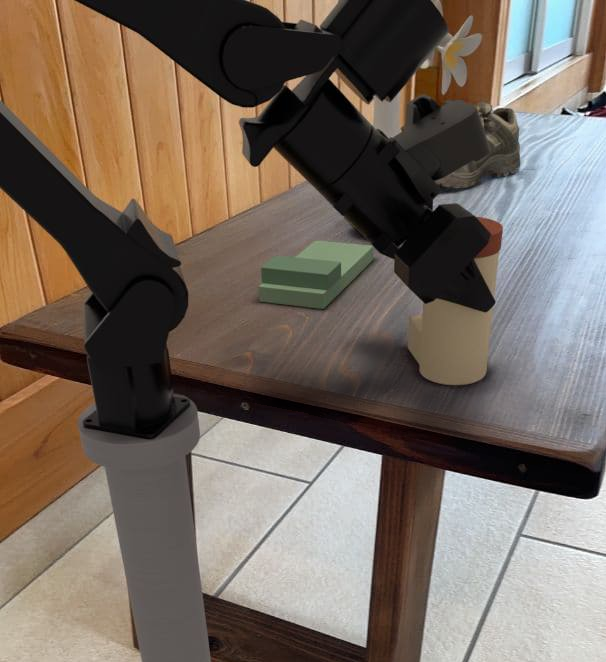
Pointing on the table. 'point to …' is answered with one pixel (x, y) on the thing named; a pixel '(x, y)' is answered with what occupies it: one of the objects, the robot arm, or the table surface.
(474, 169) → the hiking shoe
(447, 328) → the brown-capped cream cylinder
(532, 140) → the table surface
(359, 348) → the table surface
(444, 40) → the flower vase
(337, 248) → the green stepped slab
